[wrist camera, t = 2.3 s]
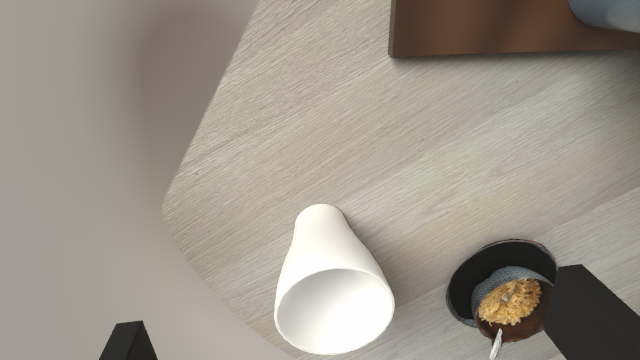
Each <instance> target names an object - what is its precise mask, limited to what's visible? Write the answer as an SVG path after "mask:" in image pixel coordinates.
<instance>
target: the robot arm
mask: <svg viewBox="0 0 640 360" xmlns="http://www.w3.org/2000/svg"><path fill="white" fill-rule="evenodd" d="M543 330H544V331H545V332H546V334H547V335H548V336H549V338H550V339H551V340H552V341H553V343H554V344H555V345H556V346H557V348H558V349H559V350H560V352H561V353H562V354H563V355H564V357H565V358H566V359H567V360H640V316H638V315H637V314H636V313H635V312H634V311H633V310H632V309H631V308H630V307H628V306H627V305H626V304H625V303H624V302H623V301H622V300H621V299H620V298H618V297H617V296H616V295H615V294H614V293H613V292H612V291H611V290H610V289H608V288H607V287H606V286H605V285H604V284H603V283H602V282H601V281H600V280H598V279H597V278H596V277H595V276H594V275H593V274H592V273H591V272H590V271H588V270H587V269H586V268H585V267H584V266H583V265H582V264H578V265H571V266H563V267H558V271H557V275H556V279H555V282H554V286H553V290H552V294H551V298H550V302H549V306H548V309H547V313H546V317H545V321H544V325H543ZM99 360H158V359H157V357H156V354H155V352H154V349H153V347H152V344H151V341H150V339H149V336H148V334H147V331H146V329H145V326H144V324H143V321H135V322H126V323H119V324H116V326H115V328H114V330H113V332H112V334H111V336H110V338H109V340H108V342H107V344H106V346H105V348H104V350H103V352H102V354H101V356H100V358H99Z"/></svg>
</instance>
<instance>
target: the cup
mask: <svg viewBox="0 0 640 360" xmlns="http://www.w3.org/2000/svg"><path fill="white" fill-rule="evenodd" d="M394 309H395V303H394V295H393V293H392V291H391V289H390V287H389V285H388V283H387V281H386V278H385V276H384V274H383V272H382V270H381V268H380V266H379V265H378V264H377V262H376V261H375V259H374V258H373V256H372V255H371V253H370V252H369V250H368V249H367V248H366V247H365V246H364V245H363V243H362V242H361V241H360V240H359V239H358V238H357V237H356V235H355V234H354V233H353V231H352V230H351V228H350V227H349V226H348V224H347V222H346V219H345V217H344V215H343V213H342V212H341V211H340V210H339V209H337V208H335V207H334V206H331V205H328V204H317V205H312V206H310V207H308V208H306V209H305V210H303V211H302V212H301V213H300V214H299V216H298V217H297V219H296V222H295V229H294V236H293V239H292V243H291V246H290V249H289V251H288V254H287V256H286V259H285V261H284V263H283V267H282V270H281V274H280V278H279V281H278V285H277V292H276V300H275V310H274V320H275V324H276V327H277V330H278V331H279V333H280V334H281V335H282V337H283V338H284V339H285V340H286V341H287V342H289V343H290V344H291V345H293V346H294V347H296V348H298V349H300V350H303V351H305V352H309V353H314V354H319V355H336V354H342V353H347V352H351V351H354V350H356V349H359V348H362V347H364V346H366V345H367V344H369V343H371V342H372V341H374V340H375V339H376V338H377V337H379V336H380V335H381V334H382V333H383V332H384V331H385V329H386V328H387V326H388V325H389V323H390V321H391V320H392V316H393V313H394Z"/></svg>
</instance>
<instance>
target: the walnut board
mask: <svg viewBox="0 0 640 360" xmlns="http://www.w3.org/2000/svg"><path fill="white" fill-rule="evenodd" d="M619 49H640V34H639V33H632V32H624V31H617V30H610V29H602V28H596V27H591V26H589V25H586V24H585V23H583V22H581V21H580V20H579V19H578V18H577V17H576V16H575V15H574V13H573V12H572V10H571V8H570V6H569V3H568V0H392V1H391V16H390V32H389V47H388V54H389V55H391V56H392V57H395V56H427V55H459V54H491V53H523V52H555V51H587V50H619Z"/></svg>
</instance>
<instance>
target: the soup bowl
mask: <svg viewBox="0 0 640 360" xmlns="http://www.w3.org/2000/svg"><path fill="white" fill-rule="evenodd" d="M557 271H558V265H557V262H556V259H555V258H554V257H553V256H552V254H551V253H550V252H549V251H548V250H547V249H546V248H545V247H544V246H543V245H542V244H539V243H536V242H533V241H527V240H520V239H515V240H513V239H509V240H503V241H499V242H495V243H492V244H489V245H486V246H485V247H483V248H482V249H481V250H479V251H478V252H477V253H475V254H473V255H472V256H471V257H469V258H468V259H467V260H466V261H465V262H464V263H463V264H462V265H461V266H460V267H459V269H458V270H457V271H456V272H455V274H454V275H453V277H452V279H451V281H450V284H449V286H448V289H447V294H446V301H447V305H448V308H449V310H450V312H451V314H452V315H453V316H454V317H455V318H456V319H457V320H458V321H460V322H462V323H463V324H465V325H468V326H471V327H474V328H478V329H479V330H480V332H481V333H482V334H483V335H484V336H485V337H488V338H489V339H491V340H492V350H491V356H490V358H489V360H498V357H499V354H500V351H501V347H502V345H503V343H505V342H508V343H509V342H517V341H519V340H522V339H526V338H529V337H531V336H533V335H534V334H536V333H538V332H541V331H543V325H544V321H545V317H546V313H547V309H548V306H549V302H550V298H551V294H552V290H553V286H554V282H555V279H556V275H557Z"/></svg>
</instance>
